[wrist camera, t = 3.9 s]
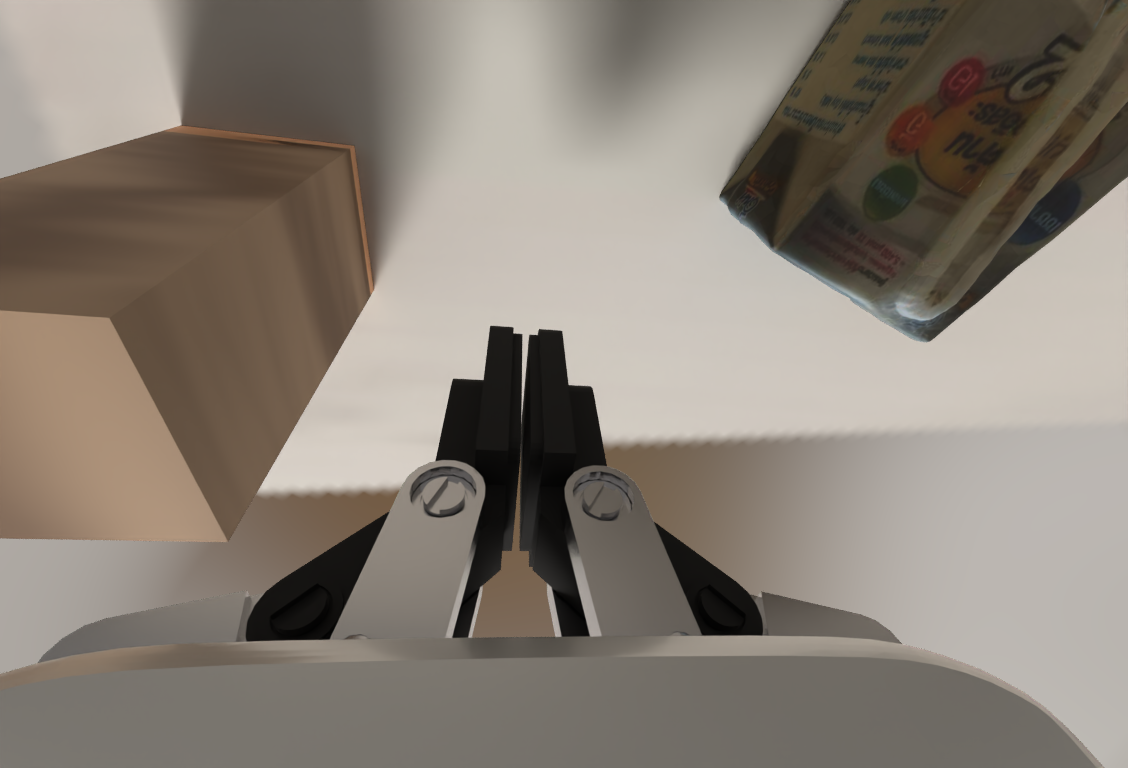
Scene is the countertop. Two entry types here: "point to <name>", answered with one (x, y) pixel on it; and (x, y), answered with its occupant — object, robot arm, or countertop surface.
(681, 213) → the countertop surface
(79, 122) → the countertop surface
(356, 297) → the wooden block
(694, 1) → the countertop surface
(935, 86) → the beverage carton
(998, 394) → the countertop surface
